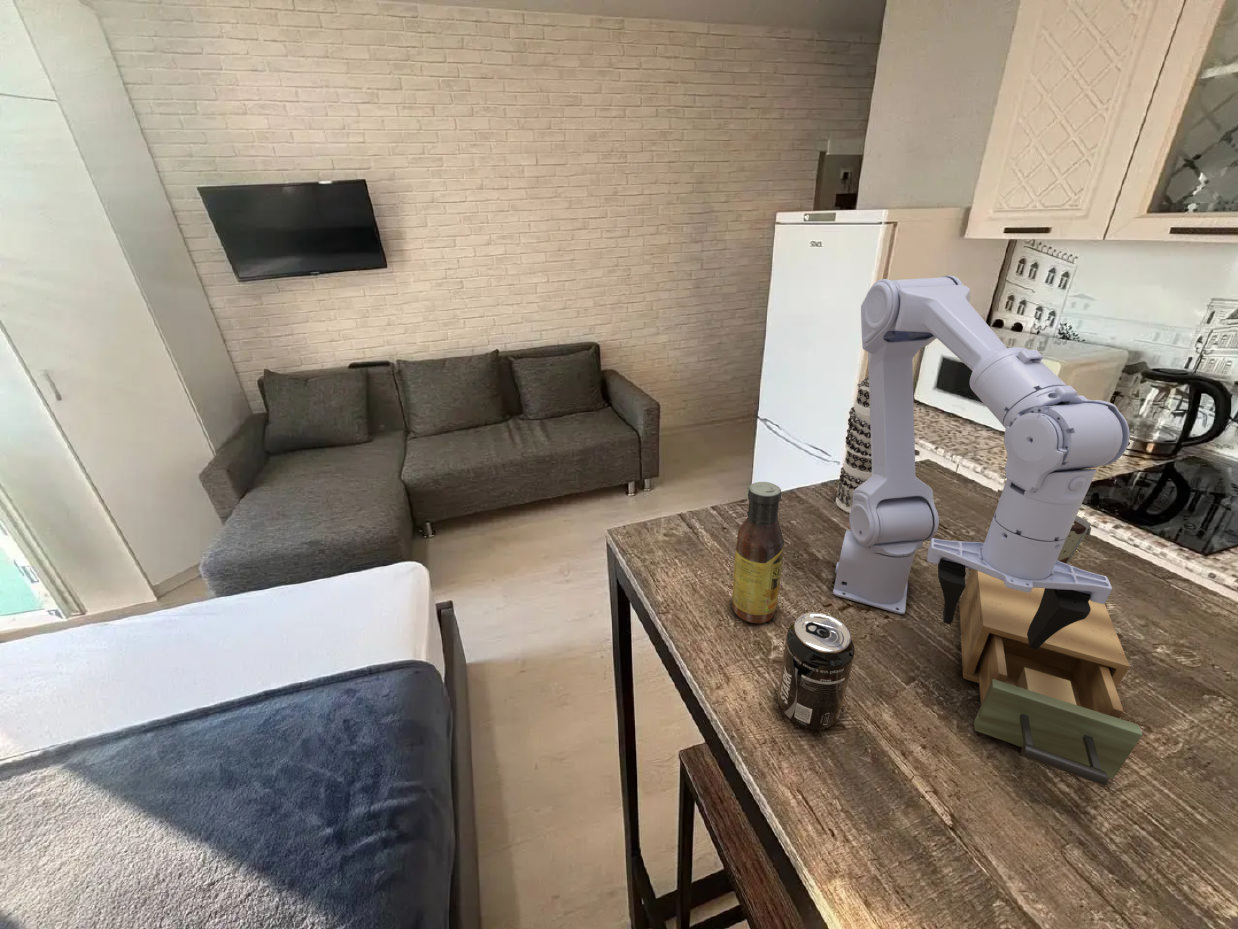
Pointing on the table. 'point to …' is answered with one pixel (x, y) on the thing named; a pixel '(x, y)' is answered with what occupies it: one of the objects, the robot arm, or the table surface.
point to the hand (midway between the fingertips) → (988, 629)
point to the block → (1046, 685)
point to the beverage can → (815, 670)
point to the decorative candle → (856, 449)
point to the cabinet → (1011, 616)
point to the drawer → (1054, 711)
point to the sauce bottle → (758, 556)
